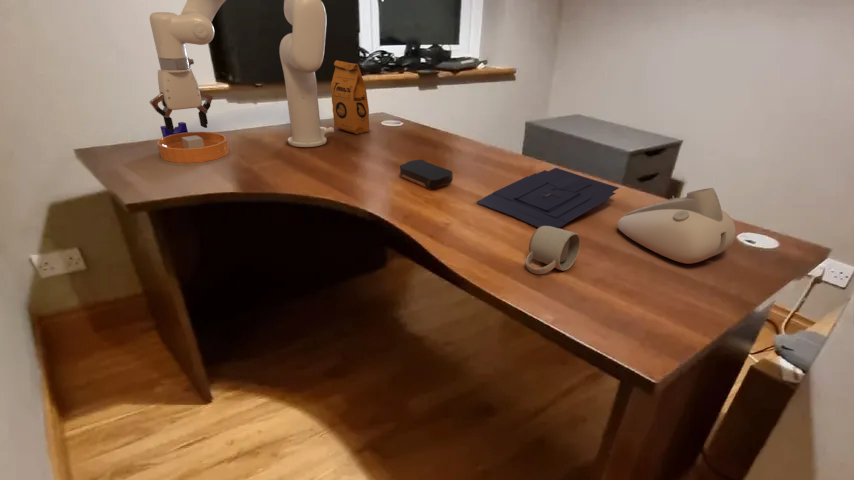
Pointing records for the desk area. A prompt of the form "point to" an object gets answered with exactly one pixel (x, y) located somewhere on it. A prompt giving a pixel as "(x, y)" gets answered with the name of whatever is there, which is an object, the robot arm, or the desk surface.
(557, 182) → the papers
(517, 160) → the desk surface
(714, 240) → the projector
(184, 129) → the cable holder
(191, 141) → the block
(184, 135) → the bowl
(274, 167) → the desk surface
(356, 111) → the coffee package
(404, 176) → the black sponge
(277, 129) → the desk surface
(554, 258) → the ceramic mug
